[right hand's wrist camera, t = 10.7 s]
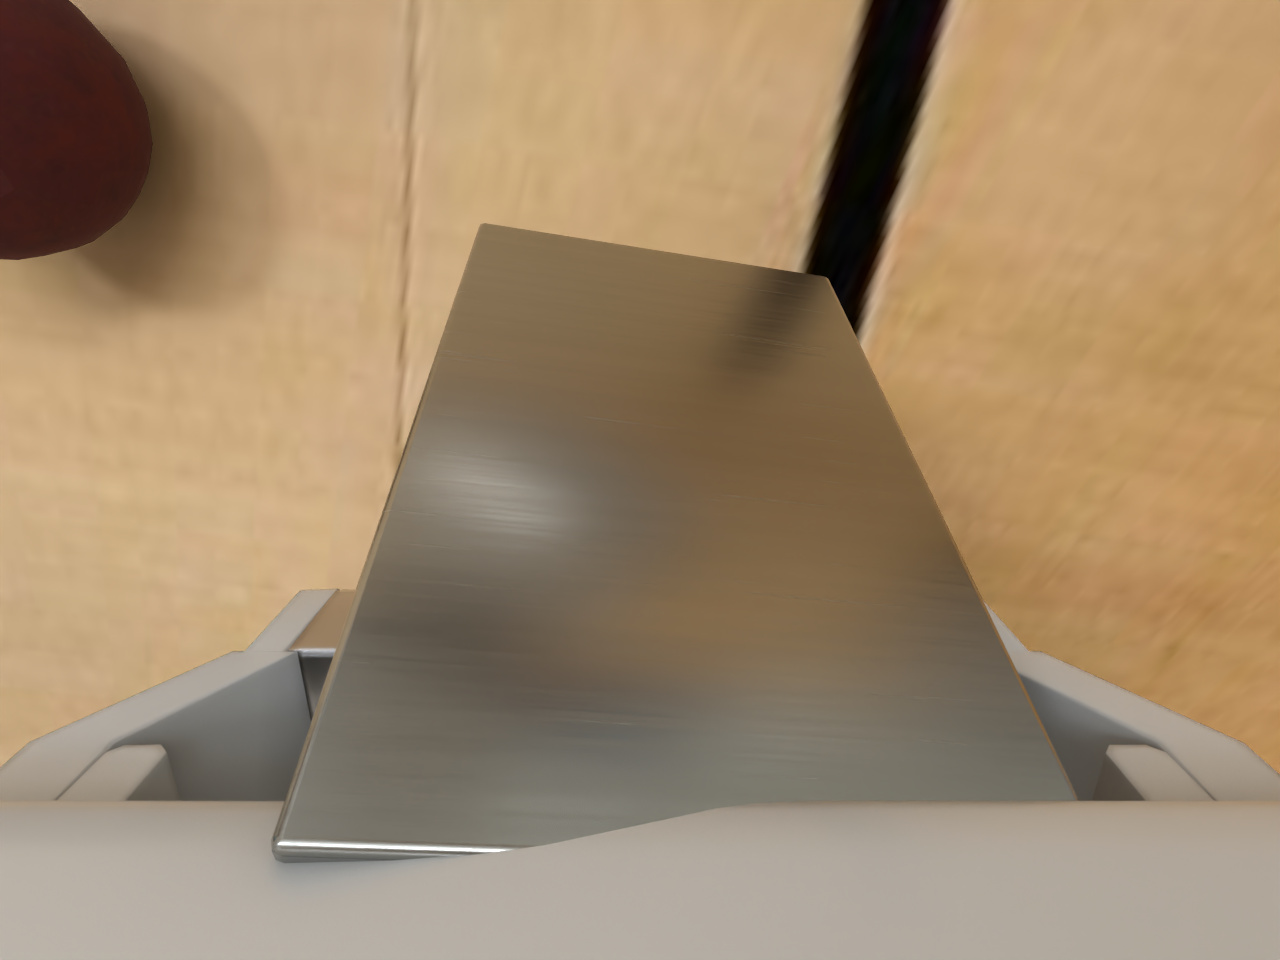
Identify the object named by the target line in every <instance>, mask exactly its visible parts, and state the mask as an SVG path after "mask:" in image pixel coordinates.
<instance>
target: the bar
mask: <svg viewBox="0 0 1280 960" xmlns="http://www.w3.org/2000/svg"><path fill="white" fill-rule="evenodd" d="M797 801H1079V799H1078V797H1077V795H1076V793H1075V791H1074V789H1073V787H1072V785H1071V782H1070V780H1069V778H1068V776H1067V774H1066V772H1065V770H1064V768H1063V766H1062V764H1061V762H1060V760H1059V758H1058V755H1057V753H1056V751H1055V749H1054V747H1053V745H1052V743H1051V741H1050V739H1049V737H1048V735H1047V733H1046V730H1045V728H1044V726H1043V724H1042V722H1041V720H1040V718H1039V716H1038V714H1037V712H1036V710H1035V708H1034V706H1033V703H1032V701H1031V699H1030V697H1029V695H1028V693H1027V691H1026V689H1025V687H1024V685H1023V683H1022V681H1021V679H1020V676H1019V674H1018V672H1017V670H1016V668H1015V666H1014V664H1013V662H1012V660H1011V658H1010V656H1009V654H1008V652H1007V649H1006V647H1005V645H1004V643H1003V641H1002V639H1001V637H1000V635H999V633H998V631H997V629H996V627H995V625H994V622H993V620H992V618H991V616H990V614H989V612H988V610H987V608H986V606H985V604H984V602H983V600H982V598H981V595H980V593H979V591H978V589H977V587H976V585H975V583H974V581H973V579H972V577H971V575H970V573H969V570H968V568H967V566H966V564H965V562H964V560H963V558H962V556H961V554H960V552H959V550H958V548H957V546H956V543H955V541H954V539H953V537H952V535H951V533H950V531H949V529H948V527H947V525H946V523H945V521H944V519H943V516H942V514H941V512H940V510H939V508H938V506H937V504H936V502H935V500H934V498H933V496H932V494H931V492H930V489H929V487H928V485H927V483H926V481H925V479H924V477H923V475H922V473H921V471H920V469H919V467H918V465H917V462H916V460H915V458H914V456H913V454H912V452H911V450H910V448H909V446H908V444H907V442H906V440H905V438H904V435H903V433H902V431H901V429H900V427H899V425H898V423H897V421H896V419H895V417H894V415H893V413H892V410H891V408H890V406H889V404H888V402H887V400H886V398H885V396H884V394H883V392H882V390H881V388H880V386H879V383H878V381H877V379H876V377H875V375H874V373H873V371H872V369H871V367H870V365H869V363H868V361H867V359H866V356H865V354H864V352H863V350H862V348H861V346H860V344H859V342H858V340H857V338H856V336H855V334H854V332H853V329H852V327H851V325H850V323H849V321H848V319H847V317H846V315H845V313H844V311H843V309H842V307H841V305H840V302H839V300H838V298H837V296H836V294H835V292H834V290H833V288H832V286H831V284H830V282H829V280H828V279H827V278H826V277H823V276H816V275H810V274H803V273H797V272H791V271H784V270H778V269H772V268H765V267H759V266H753V265H746V264H740V263H734V262H727V261H721V260H715V259H708V258H702V257H696V256H689V255H683V254H677V253H670V252H664V251H657V250H651V249H645V248H638V247H632V246H626V245H619V244H613V243H607V242H600V241H594V240H588V239H581V238H575V237H569V236H562V235H556V234H550V233H543V232H537V231H531V230H524V229H518V228H511V227H505V226H499V225H492V224H486V223H484V224H481V225H480V227H479V229H478V232H477V235H476V238H475V241H474V244H473V247H472V250H471V253H470V255H469V258H468V261H467V264H466V267H465V270H464V273H463V276H462V279H461V282H460V285H459V288H458V291H457V294H456V297H455V300H454V303H453V306H452V308H451V311H450V314H449V317H448V320H447V323H446V326H445V329H444V332H443V335H442V338H441V341H440V344H439V347H438V350H437V353H436V356H435V359H434V361H433V364H432V367H431V370H430V373H429V376H428V379H427V382H426V385H425V388H424V391H423V394H422V397H421V400H420V403H419V406H418V409H417V412H416V414H415V417H414V420H413V423H412V426H411V429H410V432H409V435H408V438H407V441H406V444H405V447H404V450H403V453H402V456H401V459H400V462H399V465H398V467H397V470H396V473H395V476H394V479H393V482H392V485H391V488H390V491H389V494H388V497H387V500H386V503H385V506H384V509H383V512H382V515H381V518H380V520H379V523H378V526H377V529H376V532H375V535H374V538H373V541H372V544H371V547H370V550H369V553H368V556H367V559H366V562H365V565H364V568H363V571H362V574H361V576H360V579H359V582H358V585H357V588H356V591H355V594H354V597H353V600H352V603H351V606H350V609H349V612H348V615H347V618H346V621H345V624H344V627H343V629H342V632H341V635H340V638H339V641H338V644H337V647H336V650H335V653H334V656H333V659H332V662H331V665H330V668H329V671H328V674H327V677H326V680H325V682H324V685H323V688H322V691H321V694H320V697H319V700H318V703H317V706H316V709H315V712H314V715H313V718H312V721H311V724H310V727H309V730H308V733H307V735H306V738H305V741H304V744H303V747H302V750H301V753H300V756H299V759H298V762H297V765H296V768H295V771H294V774H293V777H292V780H291V783H290V786H289V788H288V791H287V794H286V797H285V800H284V803H283V806H282V809H281V812H280V815H279V818H278V821H277V824H276V827H275V830H274V833H273V836H272V839H271V847H272V853H273V855H274V858H275V860H278V861H280V862H282V863H316V862H355V861H394V860H407V859H420V858H433V857H449V856H465V855H478V854H485V853H492V852H499V851H506V850H513V849H521V848H528V847H535V846H542V845H548V844H553V843H558V842H562V841H567V840H572V839H576V838H581V837H586V836H590V835H595V834H600V833H604V832H609V831H614V830H618V829H623V828H628V827H633V826H637V825H642V824H647V823H651V822H656V821H660V820H665V819H670V818H674V817H679V816H684V815H688V814H693V813H698V812H702V811H707V810H712V809H716V808H724V807H732V806H740V805H749V804H758V803H775V802H797Z"/></svg>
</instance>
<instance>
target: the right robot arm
mask: <svg viewBox="0 0 1280 960" xmlns="http://www.w3.org/2000/svg"><path fill="white" fill-rule="evenodd" d="M355 591H356V590H339V589H314V590H302V591H299V592H298V593H297V594H296V596H295V597H294V598H293V599H292V600H291V601H290V602H289V603H288V604H287V605H286V606H285V608H284V609H283V610H282V611H281V612H280V613H279V614H278V615H277V616H276V617H275V619H274V620H273V621H272V622H271V623H270V624H269V625H268V626H267V627H266V628H265V629H264V631H263V632H262V633H261V634H260V635H259V636H258V637H257V638H256V639H255V640H254V641H253V643H252V644H251V645H250V646H249V647H248V648H247V649H246V650H245V651H233V652H230V653H228V654H226V655H224V656H221V657H219V658H217V659H215V660H212V661H210V662H208V663H206V664H203V665H201V666H199V667H197V668H194V669H192V670H190V671H188V672H185V673H183V674H181V675H179V676H176V677H174V678H172V679H170V680H167V681H165V682H163V683H161V684H158V685H156V686H154V687H152V688H150V689H147V690H145V691H143V692H141V693H138V694H136V695H134V696H132V697H129V698H127V699H125V700H123V701H120V702H118V703H116V704H114V705H111V706H109V707H107V708H105V709H102V710H100V711H98V712H96V713H93V714H91V715H89V716H87V717H84V718H82V719H80V720H78V721H75V722H73V723H71V724H69V725H67V726H64V727H62V728H60V729H58V730H55V731H53V732H51V733H49V734H46V735H44V736H42V737H40V738H37V739H35V740H33V741H31V742H29V743H28V744H27V745H26V746H24V747H23V748H22V749H21V750H20V751H19V752H18V753H16V754H15V755H14V756H13V757H12V758H11V759H9V760H8V761H7V762H6V763H5V764H4V765H2V766H1V767H0V960H1280V774H1279V773H1277V772H1276V771H1275V770H1274V769H1273V768H1272V767H1271V766H1269V765H1268V764H1267V763H1266V762H1265V761H1264V760H1263V759H1261V758H1260V757H1259V756H1258V755H1257V754H1256V753H1255V752H1254V751H1252V750H1251V749H1250V748H1249V747H1248V746H1247V745H1246V744H1244V743H1243V742H1241V741H1238V740H1236V739H1234V738H1232V737H1230V736H1227V735H1225V734H1223V733H1221V732H1218V731H1216V730H1214V729H1212V728H1210V727H1207V726H1205V725H1203V724H1201V723H1199V722H1196V721H1194V720H1192V719H1190V718H1187V717H1185V716H1183V715H1181V714H1179V713H1176V712H1174V711H1172V710H1170V709H1167V708H1165V707H1163V706H1161V705H1159V704H1156V703H1154V702H1152V701H1150V700H1147V699H1145V698H1143V697H1141V696H1139V695H1136V694H1134V693H1132V692H1130V691H1128V690H1125V689H1123V688H1121V687H1119V686H1116V685H1114V684H1112V683H1110V682H1108V681H1105V680H1103V679H1101V678H1099V677H1096V676H1094V675H1092V674H1090V673H1088V672H1085V671H1083V670H1081V669H1079V668H1076V667H1074V666H1072V665H1070V664H1068V663H1065V662H1063V661H1061V660H1059V659H1056V658H1054V657H1052V656H1050V655H1048V654H1045V653H1043V652H1041V651H1028V650H1027V649H1026V647H1025V646H1024V645H1023V644H1022V643H1021V642H1020V641H1019V640H1018V639H1017V637H1016V636H1015V635H1014V634H1013V633H1012V632H1011V631H1010V630H1009V629H1008V627H1007V626H1006V625H1005V624H1004V623H1003V622H1002V621H1001V620H1000V619H999V617H998V616H997V615H996V614H995V613H994V612H993V611H992V610H991V608H990V607H989V606H988V605H987V604H986V603H985V602H984V601H983V602H984V604H985V606H986V608H987V610H988V612H989V614H990V616H991V618H992V620H993V622H994V625H995V627H996V629H997V631H998V633H999V635H1000V637H1001V639H1002V641H1003V643H1004V645H1005V647H1006V649H1007V652H1008V654H1009V656H1010V658H1011V660H1012V662H1013V664H1014V666H1015V668H1016V670H1017V672H1018V674H1019V676H1020V679H1021V681H1022V683H1023V685H1024V687H1025V689H1026V691H1027V693H1028V695H1029V697H1030V699H1031V701H1032V703H1033V706H1034V708H1035V710H1036V712H1037V714H1038V716H1039V718H1040V720H1041V722H1042V724H1043V726H1044V728H1045V730H1046V733H1047V735H1048V737H1049V739H1050V741H1051V743H1052V745H1053V747H1054V749H1055V751H1056V753H1057V755H1058V758H1059V760H1060V762H1061V764H1062V766H1063V768H1064V770H1065V772H1066V774H1067V776H1068V778H1069V780H1070V782H1071V785H1072V787H1073V789H1074V791H1075V793H1076V795H1077V797H1078V799H1079V801H797V802H775V803H758V804H749V805H740V806H732V807H724V808H716V809H712V810H707V811H702V812H698V813H693V814H688V815H684V816H679V817H674V818H670V819H665V820H660V821H656V822H651V823H647V824H642V825H637V826H633V827H628V828H623V829H618V830H614V831H609V832H604V833H600V834H595V835H590V836H586V837H581V838H576V839H572V840H567V841H562V842H558V843H553V844H548V845H542V846H535V847H528V848H521V849H513V850H506V851H499V852H492V853H485V854H478V855H465V856H449V857H433V858H420V859H407V860H394V861H355V862H316V863H282V862H280V861H278V860H275V858H274V855H273V853H272V847H271V839H272V836H273V833H274V830H275V827H276V824H277V821H278V818H279V815H280V812H281V809H282V806H283V803H284V800H285V797H286V794H287V791H288V788H289V786H290V783H291V780H292V777H293V774H294V771H295V768H296V765H297V762H298V759H299V756H300V753H301V750H302V747H303V744H304V741H305V738H306V735H307V733H308V730H309V727H310V724H311V721H312V718H313V715H314V712H315V709H316V706H317V703H318V700H319V697H320V694H321V691H322V688H323V685H324V682H325V680H326V677H327V674H328V671H329V668H330V665H331V662H332V659H333V656H334V653H335V650H336V647H337V644H338V641H339V638H340V635H341V632H342V629H343V627H344V624H345V621H346V618H347V615H348V612H349V609H350V606H351V603H352V600H353V597H354V594H355Z"/></svg>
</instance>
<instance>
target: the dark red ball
mask: <svg viewBox="0 0 1280 960" xmlns="http://www.w3.org/2000/svg"><path fill="white" fill-rule="evenodd" d="M151 150H152V138H151V131H150V124H149V118H148V112H147V109H146V106H145V102H144V100H143V98H142V96H141V94H140V92H139V90H138V88H137V85H136V83H135V81H134V79H133V77H132V75H131V73H130V71H129V69H128V67H127V64H126V62H125V60H124V59H123V58H122V57H121V56H120V54H119V53H118V52H117V51H116V50H115V49H114V48H113V47H112V45H111V44H110V43H109V42H108V41H107V40H106V39H105V38H104V37H103V35H102V34H101V33H100V32H99V31H98V30H97V29H96V28H95V26H94V25H93V24H92V23H91V22H90V21H89V20H88V19H87V17H86V16H85V15H84V14H83V13H82V12H81V11H80V10H79V9H78V8H77V7H76V6H75V5H74V4H72V3H71V2H70V1H69V0H0V259H10V260H20V259H26V258H32V257H39V256H45V255H49V254H53V253H57V252H61V251H65V250H69V249H73V248H77V247H80V246H82V245H85V244H87V243H90V242H92V241H94V240H95V239H97V238H98V237H99V236H101V235H102V234H103V233H105V232H106V231H107V230H109V229H110V228H111V227H112V226H114V225H115V224H116V223H117V222H119V221H120V220H121V219H122V218H123V217H124V216H125V215H126V214H127V212H128V211H129V209H130V208H131V206H132V205H133V203H134V202H135V200H136V199H137V197H138V196H139V194H140V191H141V189H142V186H143V184H144V181H145V179H146V176H147V174H148V169H149V163H150V156H151Z"/></svg>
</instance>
